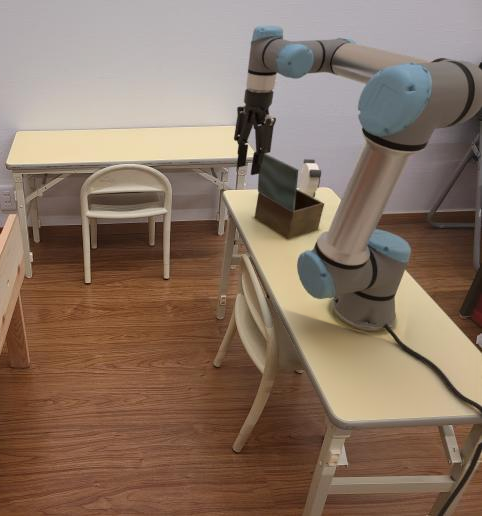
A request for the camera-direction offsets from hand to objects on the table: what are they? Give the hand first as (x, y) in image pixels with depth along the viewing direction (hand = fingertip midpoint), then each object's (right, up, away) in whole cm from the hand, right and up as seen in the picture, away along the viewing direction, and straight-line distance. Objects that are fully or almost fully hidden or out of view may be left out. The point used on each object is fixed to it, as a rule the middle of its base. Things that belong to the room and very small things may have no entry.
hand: (247, 169), depth 145 cm
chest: (+18, -14, +24) cm, 34 cm away
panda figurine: (+29, -5, +38) cm, 48 cm away
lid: (+12, -1, +12) cm, 17 cm away
